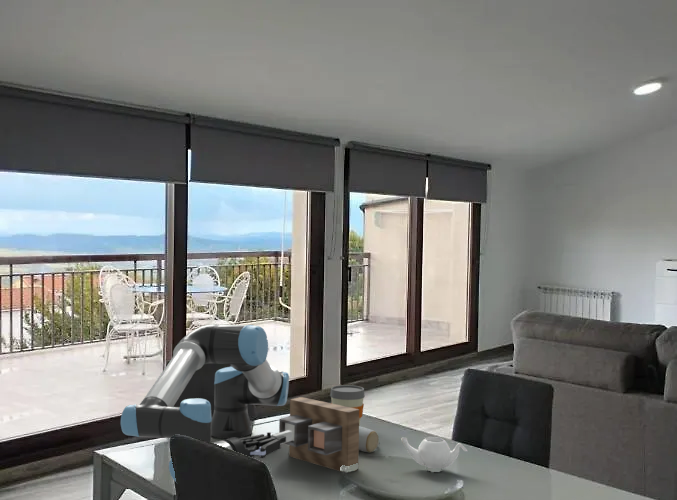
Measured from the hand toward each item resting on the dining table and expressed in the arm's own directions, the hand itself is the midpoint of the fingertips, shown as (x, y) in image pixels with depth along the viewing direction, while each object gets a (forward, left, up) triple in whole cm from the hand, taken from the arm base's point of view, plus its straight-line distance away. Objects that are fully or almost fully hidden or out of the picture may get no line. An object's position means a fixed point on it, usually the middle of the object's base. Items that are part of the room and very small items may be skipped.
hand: (290, 435), depth 194 cm
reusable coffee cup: (-23, +54, -13) cm, 60 cm away
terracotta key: (+2, +13, -6) cm, 14 cm away
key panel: (-4, +16, -13) cm, 21 cm away
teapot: (+25, +37, -13) cm, 46 cm away
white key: (-10, +13, -6) cm, 18 cm away
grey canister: (-4, +39, -13) cm, 42 cm away
